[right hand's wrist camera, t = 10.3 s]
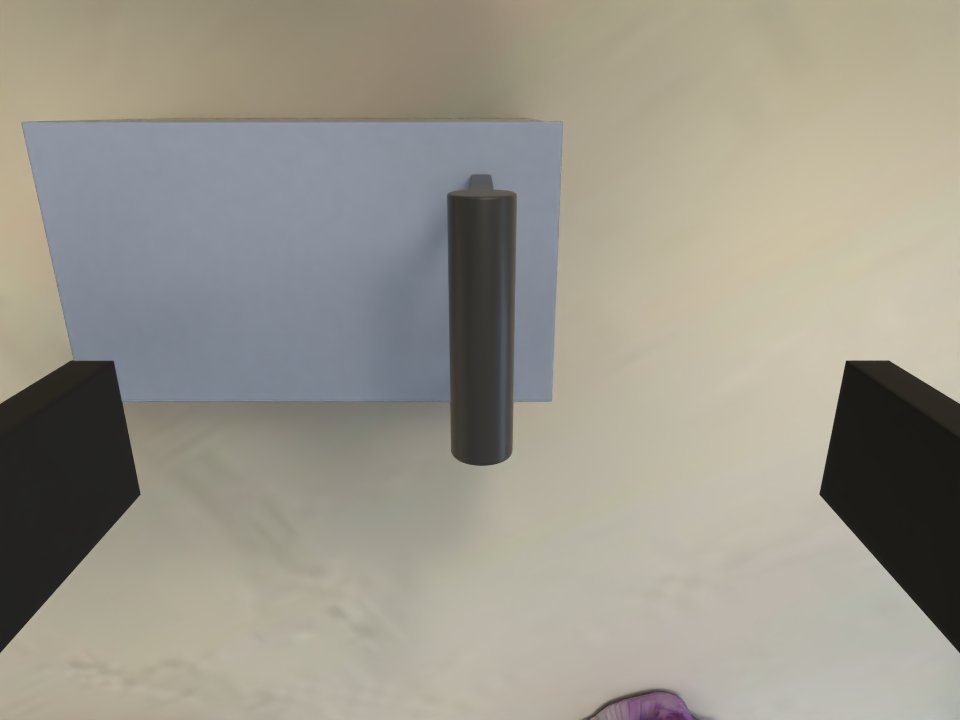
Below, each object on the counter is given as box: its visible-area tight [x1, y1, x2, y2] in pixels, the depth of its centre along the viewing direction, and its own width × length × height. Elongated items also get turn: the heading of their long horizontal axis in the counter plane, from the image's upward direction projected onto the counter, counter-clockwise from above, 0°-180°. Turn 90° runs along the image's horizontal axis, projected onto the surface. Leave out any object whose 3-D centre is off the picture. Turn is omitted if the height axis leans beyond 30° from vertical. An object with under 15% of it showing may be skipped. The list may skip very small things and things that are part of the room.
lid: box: [22, 121, 563, 466], centre depth 21 cm, size 18×10×9 cm, turn 90°
